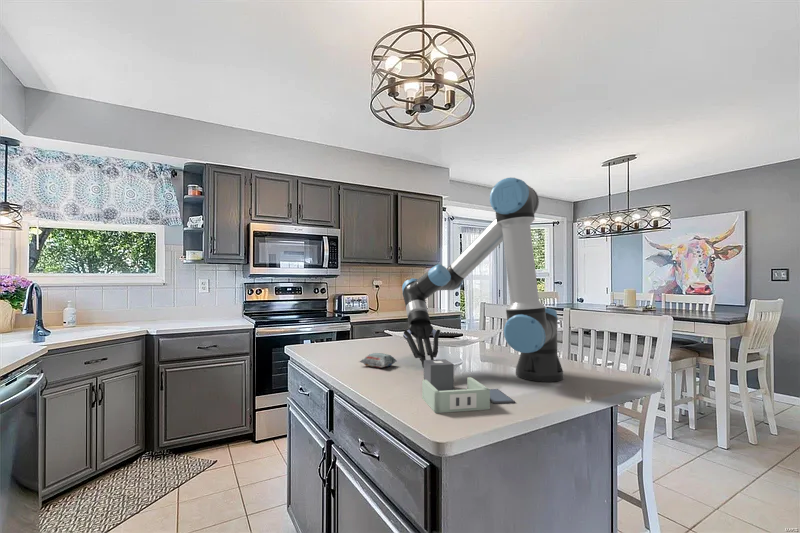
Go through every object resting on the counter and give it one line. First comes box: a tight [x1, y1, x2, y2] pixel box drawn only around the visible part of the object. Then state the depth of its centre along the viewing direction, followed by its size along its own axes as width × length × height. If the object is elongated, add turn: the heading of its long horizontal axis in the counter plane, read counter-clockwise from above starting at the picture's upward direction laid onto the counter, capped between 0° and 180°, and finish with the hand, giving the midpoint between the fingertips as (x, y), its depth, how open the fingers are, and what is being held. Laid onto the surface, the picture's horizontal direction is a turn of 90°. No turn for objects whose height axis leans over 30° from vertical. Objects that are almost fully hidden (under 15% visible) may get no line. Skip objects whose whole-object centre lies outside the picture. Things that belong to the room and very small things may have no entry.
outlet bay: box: [421, 376, 491, 414], centre depth 103 cm, size 14×12×5 cm
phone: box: [489, 388, 516, 405], centre depth 109 cm, size 6×12×1 cm, turn 8°
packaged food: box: [358, 352, 398, 369], centre depth 146 cm, size 9×12×5 cm
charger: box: [423, 358, 455, 391], centre depth 116 cm, size 7×7×8 cm
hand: (430, 375), depth 120 cm, fingers closed
